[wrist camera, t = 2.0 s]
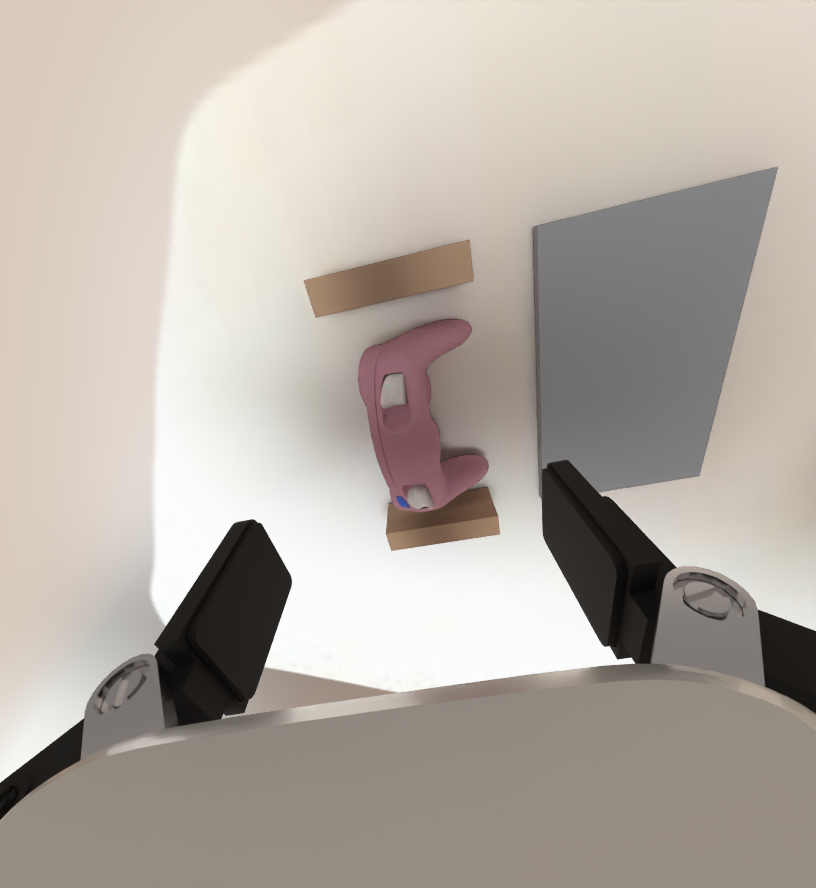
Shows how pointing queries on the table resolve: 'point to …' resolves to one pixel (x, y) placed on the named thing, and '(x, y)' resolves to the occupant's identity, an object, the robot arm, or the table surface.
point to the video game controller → (414, 418)
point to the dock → (388, 282)
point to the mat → (641, 328)
